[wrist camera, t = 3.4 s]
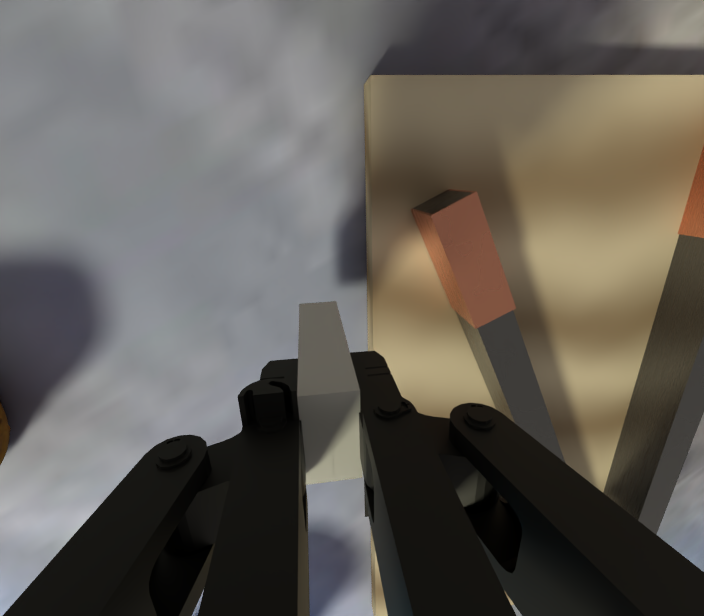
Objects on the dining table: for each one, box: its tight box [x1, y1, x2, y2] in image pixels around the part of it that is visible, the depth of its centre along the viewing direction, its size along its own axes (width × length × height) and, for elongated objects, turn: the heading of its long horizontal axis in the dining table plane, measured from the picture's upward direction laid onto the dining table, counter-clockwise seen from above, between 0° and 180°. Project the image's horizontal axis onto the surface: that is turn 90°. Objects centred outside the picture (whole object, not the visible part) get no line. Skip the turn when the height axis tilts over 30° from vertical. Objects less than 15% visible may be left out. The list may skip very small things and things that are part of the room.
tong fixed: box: [603, 145, 704, 534], centre depth 19 cm, size 28×4×2 cm, turn 2°
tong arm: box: [410, 189, 565, 462], centre depth 18 cm, size 23×2×2 cm, turn 27°
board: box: [364, 75, 704, 616], centre depth 21 cm, size 33×19×2 cm, turn 2°
